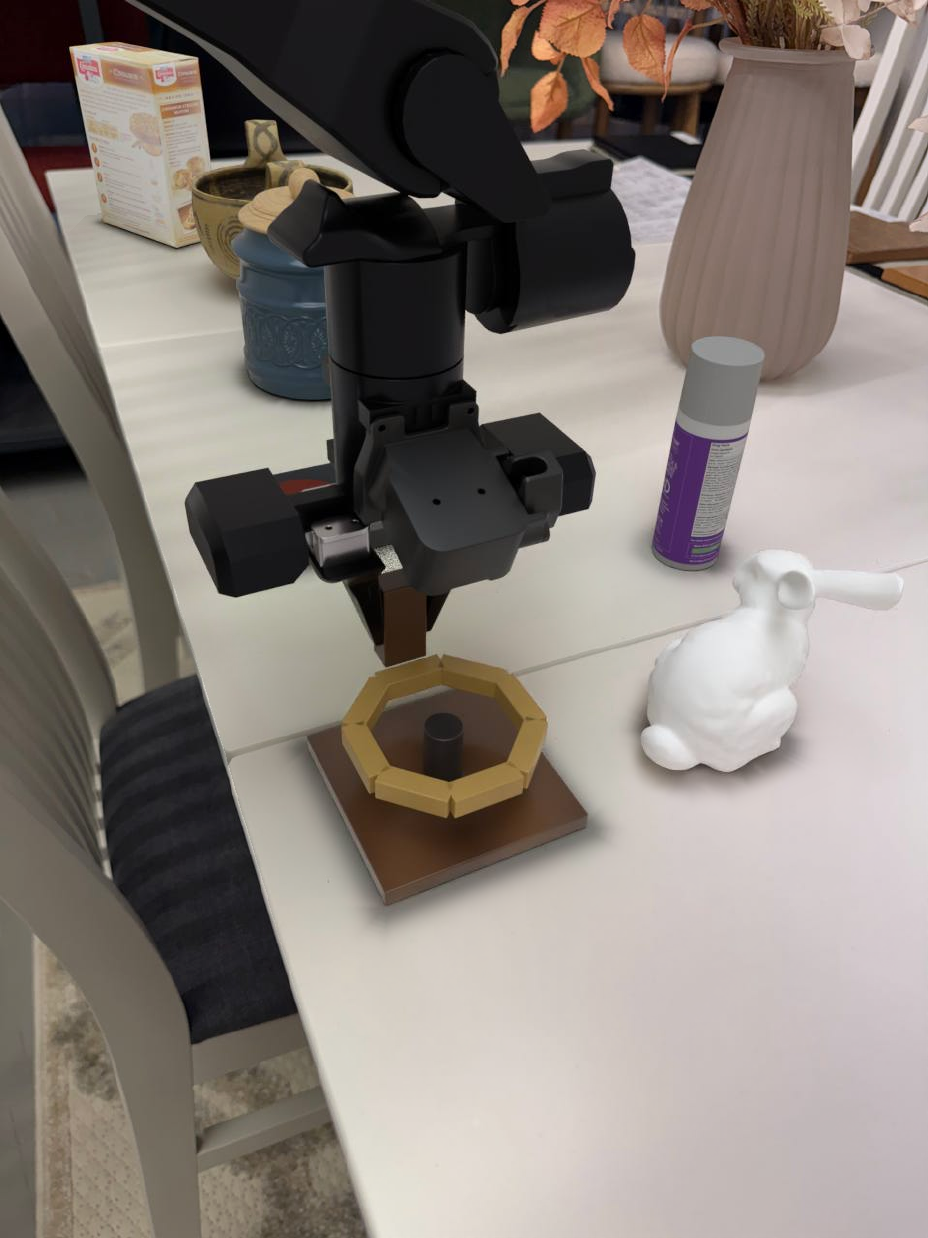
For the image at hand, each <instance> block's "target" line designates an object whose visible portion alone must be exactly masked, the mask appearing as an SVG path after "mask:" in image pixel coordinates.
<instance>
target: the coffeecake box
mask: <svg viewBox="0 0 928 1238" xmlns="http://www.w3.org/2000/svg"><path fill="white" fill-rule="evenodd" d="M69 54H70V58H71V63H72V68H73V73H74V79H75V84H76V88H77V94H78V100H79V103H80V109H81V114H82V120H83V124H84V129H85V134H86V140H87V145H88V150H89V155H90V160H91V166H92V171H93V176H94V181H95V187H96V191H97V196H98V201H99V208H100V211H101V219H102V222H103V223H105V224H108V225H112V226H113V227H117V228H120V229H123V230H126V231H128V232H132V233H134V234H136V235H139V236H142V237H145V238H149V239H151V240H153V241H156V242H159V243H162V244H165V245H167V246H170V247H173V248H176V249H178V248H181V247H184V246H185V247H186V246H188V245H192V244H196V243H201V241H200V238H199V235H198V233H197V229H196V225H195V221H194V216H193V209H192V188H191V182H192V181H193V180H194V179H195V178H196V177H197V176H199V175H200V174H202V173H205V172H208V171H212V170H213V169H212V162H211V155H210V153H211V152H210V146H209V137H208V130H207V129H208V128H207V123H206V122H207V121H206V113H205V106H204V105H205V104H204V98H203V97H204V96H203V89H202V81H201V73H200V72H201V71H200V64H199V57H197V56H191V55H186V54H181V53H175V52H169V51H165V50H160V49H155V48H150V47H145V46H140V45H135V44H129V43H125V42H119V41H111V42H110V41H109V42H99V43H98V42H97V43H91V44H83V45H73V46H69Z"/></svg>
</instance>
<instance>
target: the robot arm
mask: <svg viewBox="0 0 928 1238" xmlns="http://www.w3.org/2000/svg"><path fill="white" fill-rule="evenodd" d="M124 1H125V2H127V3H129V4H130V5H132V6H133V7H135V8H137V9H139V10H140V11H142V12H144V13H146V14H147V15H149V16H151V17H152V18H154V19H156V20H158V21H160V22H161V23H163V24H165V25H166V26H168V27H170V28H171V29H173V30H175V31H176V32H178V33H180V34H182V35H184V36H185V37H187V38H189V39H190V40H192V41H194V42H195V43H196V44H197V45H199V46H200V47H201V48H202V49H204V51H205V52H207V53H208V54H209V55H211V56H212V57H213V58H214V59H216V60H217V61H218V62H219V63H220V64H222V65H223V66H224V68H226V69H227V70H228V71H229V72H230V73H231V74H232V75H233V76H234V77H235V78H236V79H237V80H238V81H239V82H241V84H242V85H243V86H245V88H247V90H248V91H249V92H251V93H252V95H254V96H255V97H256V98H257V99H258V100H259V101H260V102H261V103H263V104H264V105H265V106H266V107H267V108H269V109H270V110H271V111H272V112H273V113H275V114H276V115H277V116H278V117H280V118H281V120H283V121H284V122H286V123H287V124H288V125H289V126H290V127H291V128H292V129H294V130H295V131H296V132H297V133H299V134H300V135H301V136H302V137H303V138H305V139H306V141H308V142H309V143H311V144H312V145H313V146H314V147H316V148H317V149H318V150H320V151H321V152H323V154H325V155H327V156H329V157H331V158H333V159H335V160H336V161H338V162H341V163H342V164H345V165H346V166H348V167H350V168H352V169H354V170H356V171H358V172H360V173H361V174H364V175H365V176H367V177H370V178H371V179H374V180H375V181H378V182H379V183H381V184H383V185H385V186H387V187H388V188H391V189H393V190H394V191H393V192H385V193H378V194H370V195H363V196H355V198H347V199H341V198H340V196H339V195H338V194H337V193H336V192H335V191H333V190H331V189H329V188H327V187H326V186H324V185H322V184H320V183H319V182H317V181H315V180H313V179H308V180H306V181H305V182H304V184H303V186H302V189H301V191H300V193H299V194H298V196H297V198H296V199H295V200H294V201H293V202H292V203H291V204H290V205H289V206H288V207H286V208H285V209H284V210H283V211H282V212H281V213H280V214H279V215H278V216H277V217H276V218H275V220H274V221H273V222H272V223H270V225H269V226H268V229H267V236H268V238H269V240H270V241H271V242H273V243H274V244H276V245H277V246H278V247H280V248H281V249H283V250H284V251H285V252H287V253H288V254H290V255H291V256H292V257H294V258H295V259H297V260H298V261H299V262H301V263H302V264H304V265H305V266H306V267H308V268H317V267H323V266H324V283H325V300H326V317H327V334H328V351H329V355H328V356H322V357H321V364H322V378H323V379H324V380H325V382H326V383H327V384H328V385H329V386H330V387H331V399H330V400H331V401H330V402H331V403H330V405H331V416H332V417H331V419H332V437H333V438H330V439H326V440H325V441H326V456H327V457H326V458H327V461H328V463H331V464H332V465H333V467H334V468H335V472H336V483H333V484H328V485H324V486H319V487H314V488H310V489H305V490H302V491H301V492H299V493H294V494H289V495H286V494H285V492H284V491H283V489H282V488H281V486H280V485H279V483H278V482H277V480H276V479H275V477H274V473H273V472H272V470H271V469H270V468H269V467H263V468H258V469H254V470H248V471H245V472H244V471H243V472H238V473H235V474H229V475H225V476H219V477H215V478H208V479H205V480H199V481H195V482H194V483H193V485H192V487H191V489H190V490H189V492H188V494H187V495H186V497H185V500H184V509H185V513H186V520H187V525H188V531H189V534H190V536H191V539H192V540H193V542H194V545H195V547H196V549H197V551H198V553H199V555H200V557H201V559H202V562H203V564H204V566H205V567H206V570H207V572H208V574H209V576H210V578H211V581H212V582H213V584H214V587H215V588H216V591H217V593H218V594H219V595H223V596H226V597H230V598H235V599H236V598H240V597H241V598H242V597H245V596H248V595H253V594H256V593H260V592H261V593H262V592H264V591H269V590H273V589H276V588H280V587H285V586H288V585H292V584H295V582H296V581H297V580H298V579H299V578H300V577H301V575H302V574H303V573H304V572H305V571H306V569H307V568H308V567H309V566H310V568H311V569H312V570H313V571H314V573H315V575H316V576H317V578H318V579H319V581H320V580H321V581H322V582H324V583H327V584H338V583H342V584H343V586H344V588H345V590H346V593H347V595H348V597H349V599H350V601H351V603H352V605H353V607H354V608H355V612H356V613H357V615H358V617H359V619H360V621H361V623H362V625H363V627H364V630H365V631H366V633H367V635H368V637H369V639H370V640H371V643H372V644H373V646H374V645H375V646H376V647H377V646H380V645H382V644H383V635H384V620H383V611H382V603H381V594H380V586H379V575H380V574H382V573H384V571H385V570H386V568H387V565H386V564H385V563H384V561H383V560H382V559H381V557H380V556H379V554H378V553H377V551H376V550H375V548H372V546H371V545H370V542H369V530H370V526H371V525H372V524H374V523H378V522H382V525H383V528H384V530H385V532H386V534H387V536H388V538H389V540H390V542H391V544H390V545H391V546H392V548H393V551H394V553H395V554H396V556H397V559H398V561H399V563H400V565H401V567H402V568H403V572H404V575H405V577H406V580H407V582H408V583H409V585H410V586H411V587H412V588H413V589H414V590H415V591H417V592H419V593H421V594H424V595H427V619H426V633H429V632H431V631H432V630H433V629H434V626H435V623H436V622H437V620H438V617H439V616H440V614H441V611H442V610H443V608H444V605H445V604H446V601H447V599H448V597H449V595H450V593H451V591H452V590H454V589H457V588H461V587H464V586H468V585H472V584H475V583H479V582H483V581H496V580H499V579H502V578H504V577H506V576H507V575H508V574H509V573H510V572H511V570H512V567H513V565H514V562H515V559H516V557H517V554H518V551H519V550H520V549H524V548H527V547H531V546H535V545H538V544H543V543H547V542H548V541H550V539H551V530H550V529H552V528H554V527H555V525H556V523H557V520H558V518H559V517H563V516H567V515H570V514H575V513H579V512H583V511H586V510H589V509H590V507H591V505H592V503H593V498H594V490H595V485H596V476H597V472H596V471H597V470H596V467H595V464H594V462H593V459H592V456H591V455H590V454H589V453H588V452H587V451H586V450H584V448H582V447H581V446H580V445H579V444H578V443H577V442H575V441H574V440H573V439H572V438H571V437H569V435H567V434H566V433H565V432H563V431H562V430H561V429H560V428H559V427H558V426H557V425H555V424H554V423H553V422H552V421H551V420H550V419H548V418H547V417H546V416H545V415H543V414H542V413H541V412H536V413H529V414H525V415H520V416H515V417H510V418H505V419H500V420H494V421H491V422H485V423H481V424H480V422H479V417H480V407H479V405H478V403H477V395H478V394H477V389H475V388H474V387H473V386H472V385H471V384H469V383H468V382H467V380H465V379H464V363H465V361H464V360H465V335H466V312H467V313H468V314H470V315H473V316H474V317H475V319H476V320H477V322H478V323H480V325H482V327H483V328H485V330H487V331H489V332H491V333H494V334H498V335H505V334H507V333H509V334H510V333H512V332H518V331H522V330H526V329H531V328H535V327H541V326H545V325H549V324H553V323H554V324H555V323H558V322H563V321H567V320H571V319H572V320H573V319H576V318H581V317H585V316H591V315H595V314H598V313H603V312H608V311H611V310H612V309H613V308H614V307H616V306H618V305H619V303H620V302H621V301H622V300H623V298H624V297H625V296H626V294H627V291H628V290H629V288H630V285H631V283H632V279H633V275H634V271H635V267H636V266H635V265H636V257H637V254H636V249H635V248H634V247H633V244H632V233H631V229H630V225H629V220H628V216H627V214H626V212H625V209H624V207H623V205H622V202H621V201H620V199H619V198H618V196H617V195H616V193H615V191H613V189H612V182H613V174H614V165H615V164H614V161H613V160H612V159H611V158H609V157H606V156H604V155H602V154H599V153H596V152H592V151H590V150H588V149H585V148H580V149H572V150H566V151H561V152H559V153H557V154H555V155H552V156H550V157H548V158H543V159H534V160H531V159H530V157H529V155H528V153H527V152H526V150H525V147H524V146H523V144H522V142H521V141H520V139H519V137H518V135H517V133H516V131H515V129H514V127H513V125H512V124H511V122H510V120H509V118H508V116H507V114H506V113H505V110H504V109H503V107H502V105H501V103H500V84H499V78H498V72H497V68H498V66H499V58H498V55H497V53H496V51H495V49H494V47H493V45H492V43H491V41H490V40H489V38H488V37H487V36H486V35H485V34H484V33H483V31H482V30H480V29H479V28H478V27H477V25H476V24H475V23H474V22H473V21H471V20H470V19H468V18H466V17H465V16H463V15H461V14H459V13H457V12H456V11H453V10H450V9H448V8H446V7H445V6H442V5H440V4H437V3H435V2H433V1H431V0H124ZM442 193H443V194H444V195H446V196H448V197H450V198H452V199H454V203H453V204H448V205H447V204H446V205H440V206H433V207H432V206H431V207H424V208H423V207H422V206H421V205H420V204H419V203H418V202H417V201H416V200H415V199H436V198H438V197H439V196H440V195H441V194H442ZM414 198H415V199H414Z"/></svg>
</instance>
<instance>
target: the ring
mask: <svg viewBox="0 0 928 1238" xmlns="http://www.w3.org/2000/svg"><path fill="white" fill-rule="evenodd" d="M379 586H380V594H381V603H382V611H383V620H384V635H383V644H382V645H380V646H377V647H376V646H375V645H374V644H373V651H374V652H375V654H376V655H377V657H378V659H379V660H380V661H381V664H383V667H384V668H385V669H382V670H378V671H375V672H374V676H372V675H371V676H369V677H368V679H367V680H366V682H365V684H363V687H362V688H361V690H360V692H359V693H358V695H357V696H356V698H355V700H353V701H354V702H353V703H352V704H351V706H350V707H349V710H348V711H347V713H346V714H345V716H344V717H343V719H342V721H341V725H342V728H341V730H342V744H343V746H344V748H345V749H346V751H347V753H348V755H349V757H350V759H351V761H352V762H353V764H354V766H355V768H356V770H357V772H358V774H359V775H360V777H361V779H362V781H363V783H364V785H365V787H366V788H367V790H368V792H369V793H370V794H371V793H373V792H375V797H376V798H378V799H381V800H385V801H388V802H392V803H395V804H399V805H402V806H406V807H409V808H413V809H416V810H420V811H423V812H426V813H430V814H433V815H437V816H440V817H444V818H447V817H448V815H449V813H450V812H451V813H452V815H453V816H454V818H457V817H460V816H463V815H465V814H468V813H471V812H473V811H476V810H479V809H482V808H484V807H487V806H490V805H492V804H495V803H498V802H500V801H503V800H506V799H508V798H511V797H514V796H517V795H519V794H522V791H523V788H525V789H527V788H528V786H529V783H530V780H531V778H532V775H533V772H534V770H535V767H536V764H537V761H538V759H539V756H540V753H541V752H542V750H543V748H544V745H545V743H546V739H547V735H548V727H549V722H548V721H547V718H548V717H547V715H546V713H545V712H544V711H543V709H541V707H540V706H539V705H538V703H537V702H536V700H534V699H533V697H532V696H531V695H530V693H529V692H528V691H527V689H526V688H525V687H524V685H522V683H521V681H520V680H519V679H518V678H517V677H516V675H515V674H514V673H513V672H512V673H509V674H508V669H506V668H503V667H502V668H501V667H499V666H498V667H497V666H494V665H489V664H486V663H481V662H478V661H475V660H474V661H473V660H469V659H465V658H461V657H457V656H453V655H449V654H446V653H444V654H443V655H442V656H441V658H440V656H439V655H438V654H437V653H435V654H432V655H428V656H427V632H426V619H427V595H424V594H421V593H419V592H417V591H415V590H414V589H413V588H412V587H411V586H410V585H409V583H408V582H407V580H406V577H405V575H404V572H403V567H402V568H397V569H392V570H390V571H385V572H382V573H381V574H380V575H379ZM440 686H443V687H448V688H451V689H459V690H463V691H467V692H471V693H475V694H479V695H483V696H487V697H491V698H495V699H496V701H497V702H498V704H499V705H500V706H501V708H502V709H503V710H504V712H505V713H506V714H507V716H508V717H509V718H510V720H511V721H512V722H513V724H514V725H515V727H516V728H517V729H518V731H519V733H518V735H517V738H516V740H515V743H514V745H513V748H512V750H511V752H510V755H509V757H508V760H507V762H505V763H502V764H499V765H497V766H494V767H491V768H488V769H485V770H483V771H480V772H477V773H474V774H471V775H468V776H466V777H463V778H460V779H457V780H454V781H452V782H447V781H443V780H439V779H436V778H432V777H429V776H425V775H422V774H418V773H414V772H411V771H407V770H404V769H400V768H396V767H393V766H390V765H389V763H388V761H387V760H386V758H385V756H384V755H383V753H382V751H381V749H380V748H379V746H378V744H377V742H376V741H375V739H374V737H373V735H372V734H371V731H372V729H373V728H374V726H375V724H376V723H377V721H378V719H379V717H380V716H381V714H382V712H384V711H385V709H386V707H387V705H388V703H389V702H391V701H394V700H398V699H401V698H405V697H407V696H410V695H413V694H417V693H420V692H423V691H426V690H430V689H433V688H435V687H440Z"/></svg>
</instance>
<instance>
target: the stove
mask: <svg viewBox="0 0 928 1238" xmlns="http://www.w3.org/2000/svg"><path fill="white" fill-rule="evenodd" d="M273 475H274V477H275V479H276V480H277V482H278V483H279V485H280V486H281V488H282V489H283V491H284V492H285V494H286V495H289V494H294V493H299V492H301V491H302V490H305V489H310V488H314V487H319V486H324V485H328V484H333V483H336V472H335V468H334V467H333V465H332V464H331V463H330V462H328V463H323V464H317V465H313V466H309V467H303V468H298V469H293V470H289V471H284V472H278V473H275V474H274V473H273ZM369 542H370V545H371V546H372V548H373V549H375V548H379V547H384V546H388V545H392V544H391V542H390V540H389V538H388V536H387V534H386V532H385V530H384V528H383V525H382V522H378V523H374V524H372V525H371V526H370V530H369Z"/></svg>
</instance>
